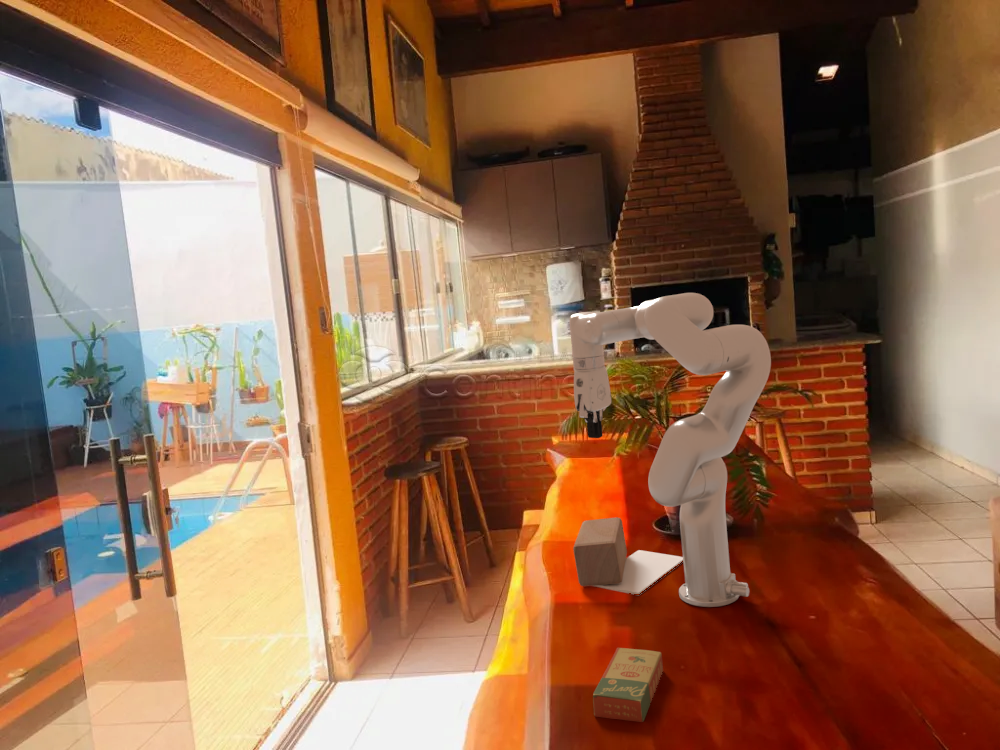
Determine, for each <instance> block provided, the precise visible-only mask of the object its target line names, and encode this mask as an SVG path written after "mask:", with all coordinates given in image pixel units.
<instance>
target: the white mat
mask: <svg viewBox="0 0 1000 750" xmlns="http://www.w3.org/2000/svg"><path fill="white" fill-rule="evenodd" d="M682 561H683V556H679V555H673V554H666V553H660V552H653V551H647V550H642V549H641V550H640V549H638V550H636V551H635V552H633V553H632V554H631V555H628V556H626V560H625V566H624V572H623V578H622V582H620V583H618V584H606V585H594V586H593V587H595V588H596V587H597V588H600V589H604V590H605V589H606V590H609V591H615V592H619V593H625V594H629V593H631V594H630V595H634V594H640V593H641V592H642V591H644V590H645V589H646V588H648V587H649V586H650V585H652V584H653V583H654V582H656V581H657V580H658V579H659V578H661V577H662V576H663V575H664V574H666V573H667V572H669V571H670V570H671V569H673V568H674V567H675V566H677V565H678V564H680V563H681V562H682ZM682 563H683V562H682ZM682 563H681V564H682ZM681 564H680V565H681ZM678 566H679V565H678ZM678 566H677V567H678ZM674 569H675V568H674ZM674 569H673V570H674ZM670 572H671V571H670ZM670 572H669V573H670ZM661 579H662V578H661ZM657 582H658V581H657ZM657 582H656V583H657ZM653 585H654V584H653ZM653 585H652V586H653ZM649 588H650V587H649ZM649 588H648V589H649ZM645 591H646V590H645ZM645 591H644V592H645ZM641 594H642V593H641ZM641 594H640V595H641Z"/></svg>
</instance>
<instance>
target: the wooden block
mask: <svg viewBox="0 0 1000 750" xmlns="http://www.w3.org/2000/svg"><path fill="white" fill-rule="evenodd" d="M572 550H573V555H574V556H573V557H574V560H575V561H574V562H575V568H576V573H577V578H578V579H577V581H578V584H580V585H579V586H581V587H595V586H594V585H606V584H618V583H620V582H622V578H623V572H624V566H625V560H626V558H627V554H628V549H627V544H626V539H625V533H624V526H623V521H622V518H621V517H617V516H616V517H608V518H599V519H589V520H588V519H587V520H584V521H582V523H581V526H580V528H579V531H578V534H577V537H576V539H575V542H574V545H573V549H572Z"/></svg>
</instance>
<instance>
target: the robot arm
mask: <svg viewBox="0 0 1000 750" xmlns="http://www.w3.org/2000/svg"><path fill="white" fill-rule="evenodd" d="M713 318H714V306H713V305H712V303H711V301H710V300H709V298H707V297H706V296H705V295H702V294H701V293H698V292H697V293H696V292H684V293H678V294H672V295H665V296H661V297H658V298H653V299H649V300H645V301H643V302H641V303H640V305H636V306H633V307H625V308H617V309H612V310H611V309H610V310H605V311H601V312H600V311H599V312H596V311H583V312H578V313H577V312H576V313H573V314H571V315H570V317H569V330H570V331H569V332H570V333H569V334H570V340H571V341H570V343H571V352H572V365H573V366H572V367H573V371H574V373H573V375H574V376H573V397H574V398H573V399H574V405H575V409H576V411H577V412H579V415H578V416H579V418H583V419H584V421H585V423H586V427H587V431H586V432H587V438H589V439H599V438H600V439H601V438H602V437H603V427H602V420H603V412H605V410H606V409H607V407H609V406H611V404H612V394H611V386H610V381H609V375H608V370H607V367H606V366H605V365H606V364H605V353H604V352H605V351H604V345H611V344H613V343H619V342H624V341H630V340H635V339H640V338H645V339H647V340H654V341H656V343H658V344H659V345H660V346H661V347H662V349H664V350H665V351H666V352H667V353H668V354H669V355H670V356H671V357H672V358H674V359H675V360H676V361H677V362H678V363H679V364H680V365H681V366H682V367H683V368H685V369H686V370H687V371H689V372H690V373H692V374H693V375H694V374H695V375H697V376H709V375H713V374H717V373H718V374H719V373H721V372H725V373H724V374H723V375H722V377H721V378H720V379H719V380H718V381H717V383H715V384H714V387H713V388H712V390H711V392H710V393H709V397H708V400H707V401H706V404H705V405H704V407H703V408H702V410H701V411H700V412H698V413H697V414H694V415H691V416H687V417H684V418H682V419H681V418H680V419H679V420H677V421H675V422H674V423H672V424H671V425H670V426H669V427H668V428H667V430H666V431H665V433H664V434H663V437H662V439H661V441H660V444H659V447H658V449H657V451H656V454H655V457H654V459H653V462H652V464H651V466H650V469H649V472H648V481H647V482H648V490H649V493H650V495H651V497H652V498H653V500H655V502H656V503H657V504H659V505H661V506H664V507H667V508H668V507H670V508H671V507H672V508H673V507H677V506H680V508H679V526H680V527H679V529H680V539H681V550H682V557H683V562H682V563H683V573H684V582H685V583H683V584H682V585H681V586H680V587H679V588H678V595H679V598H680V599H681V601H683V602H685V603H686V604H689V605H691V606H695V607H704V608H713V607H714V608H715V607H723V606H726V605H731V604H733V603H734V602H736V601H737V600H738V599H739V597H746V598H747V597H749V596H750V588H749V584H748V583H747V582H742V581H738V580H736V574H735V573H732V572H731V567H730V566H731V565H730V553H729V551H730V550H729V542H728V531H727V530H728V528H727V515H726V494H727V492H726V491H727V483H728V470H727V465H726V463H725V462H724V460H723V458H722V457H725V456H728V455H729V454H730V453H732V452H733V450H734V449H736V448H735V447H736V446H737V443H738V442H739V440H740V437H741V435H742V433H743V431H744V430H745V427H746V425H747V422H748V420H749V418H750V416H751V413H752V411H753V410H754V406H755V405H756V403H757V401H758V399H759V397H760V396H761V394H762V392H763V390H764V388H765V385H766V384H767V381H768V379H769V376H770V372H771V367H772V359H771V358H772V357H771V351H770V348H769V347H770V346H769V344H768V342H767V340H766V337H764V335H763V334H762V332H761V331H759V330H758V329H757V328H755V327H753V326H751V325H746V324H730V325H722V326H719V327H713V328H709V329H706V328H707V327H709V325H710V324H711V323H712V320H713Z"/></svg>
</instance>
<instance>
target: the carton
mask: <svg viewBox="0 0 1000 750" xmlns="http://www.w3.org/2000/svg"><path fill="white" fill-rule="evenodd" d="M663 671H664V665H663V655H662V652H661V651H655V650H648V649H640V648H639V649H637V648H635V649H634V648H628V647H627V648H626V647H617V648H616V649H615V652H614V654H613V655H612V657H611V659H610V661H609V664H607V668H606V669H605V671H604V673H603V675H602V676H601V678H600V681H599V682H598V684H597V686H596V687H595V689H594V691H593V694H592V705H593V715H594V717H595V718H598V717H599V718H604V719H605V718H606V719H613V720H614V719H615V720H621V721H622V720H623V721H631V722H636V723H637V722H638V723H643V722H645V719H646V716H647V713H648V710H649V708H650V706H651V704H650V703H652V701H653V699H652V698H654V696H655V694H656V692H657V689H658V686H659V683H660V681H661V679H660V677H661V678H662V676H663V673H664V672H663ZM662 672H663V673H662ZM661 675H662V676H661ZM659 680H660V681H659ZM657 685H658V686H657ZM656 688H657V689H656ZM654 693H655V694H654Z"/></svg>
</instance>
